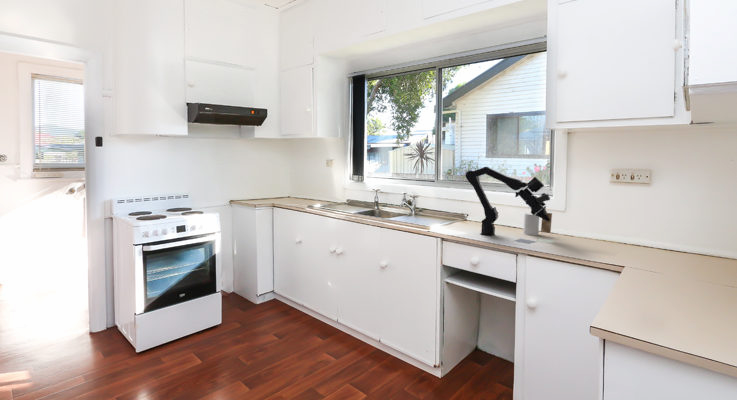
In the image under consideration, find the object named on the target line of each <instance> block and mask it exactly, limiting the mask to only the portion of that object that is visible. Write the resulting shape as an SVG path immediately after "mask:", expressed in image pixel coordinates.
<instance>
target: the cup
mask: <svg viewBox="0 0 737 400" xmlns="http://www.w3.org/2000/svg"><path fill="white" fill-rule="evenodd" d="M539 225H540V217H538V216H536V215H533V214H532V213H531V212H525V213H524V217H523V229H522V230H523V232H522V233H523V235H527V236H538V235H539V230H540V229H539V227H540V226H539Z"/></svg>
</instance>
